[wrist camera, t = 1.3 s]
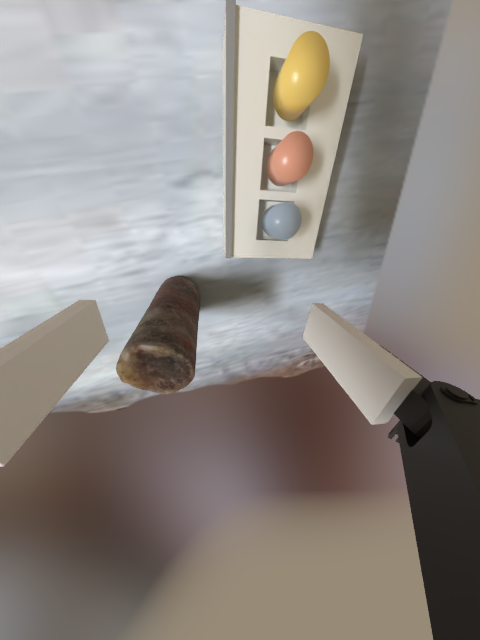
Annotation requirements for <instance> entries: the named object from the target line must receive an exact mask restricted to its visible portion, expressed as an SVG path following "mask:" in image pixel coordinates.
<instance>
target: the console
mask: <svg viewBox="0 0 480 640" xmlns="http://www.w3.org/2000/svg"><path fill="white" fill-rule="evenodd" d="M307 31H315V32H317V33H319V34H320V35H321V36H322V37H323V38H324V40H325V41H326V44H327V46H328V50H329V56H330V68H329V74H328V78H327V81H326V84H325V86H324V88H323V90H322V91H321V93H320V94H319V95H318V96H317V97H316V98H315V99H314V101H313V102H312V103H311V104H310V105H309V106H308V107H307V108H306V110H305V111H304V112H303V113H302V114H301V115H300V116H299V117H298V118H297V119H295V120H293V121H285V120H283V119H282V118H280V117H279V115H278V114H277V112H276V110H275V107H274V103H273V88H274V84H275V81H276V79H277V77H278V75H279V72H280V70H281V68H282V66H283V64H284V62H285V60H286V58H287V56H288V54H289V52H290V50H291V48H292V46H293V44H294V42H295V41H296V39H297V38H298V37H299V36H300V35H301V34H303V33H304V32H307ZM362 38H363V34H361V33H356V32H352V31H348V30H343V29H339V28H335V27H330V26H326V25H321V24H317V23H313V22H308V21H304V20H300V19H295V18H291V17H287V16H282V15H278V14H273V13H269V12H265V11H260V10H256V9H252V8H247V7H243V6H238V5H236V0H226V9H225V22H224V34H223V47H222V67H223V252H224V255H225V257H226V258H231V257H242V258H308V259H312V256H313V252H314V247H315V243H316V239H317V234H318V230H319V225H320V221H321V217H322V212H323V208H324V204H325V199H326V195H327V191H328V186H329V182H330V178H331V173H332V169H333V164H334V160H335V156H336V151H337V147H338V143H339V138H340V134H341V130H342V125H343V121H344V117H345V112H346V108H347V103H348V99H349V95H350V90H351V86H352V82H353V77H354V73H355V69H356V64H357V60H358V56H359V51H360V47H361V42H362ZM293 131H302V132H304V133H305V134H307V135H308V136H309V138H310V140H311V142H312V145H313V152H314V153H313V161H312V164H311V167H310V169H309V171H308V172H307V174H306V175H305V176H304V177H302V178H301V179H299V180H297V181H295V182H292V183H290V184H288V185H285V186H276V185H274V184H273V183H272V182H271V181H270V179H269V178H268V175H267V169H266V167H267V160H268V157H269V155H270V153H271V152H272V150H273V149H274V148H275V147H276V146H277V145H278V144H279V143H280V142H281V141H282V140H283V139H284V138H285V137H286V136H287V135H288V134H289V133H291V132H293ZM286 202H289V203H293V204H295V205H296V206H297V207H298V208H299V210H300V212H301V217H302V221H301V226H300V228H299V230H298V232H297V233H296V234H295V235H294V236H293V237H292V238H290V239H287V240H281V239H277V238H274V237H271V236H268V235H267V234H266V233H265V232H264V230H263V228H262V217H263V214H264V212H265V211H266V210H267V209H268V208H269V207H270V206H272V205H276V204H281V203H286Z"/></svg>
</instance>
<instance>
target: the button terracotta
mask: <svg viewBox="0 0 480 640" xmlns="http://www.w3.org/2000/svg"><path fill="white" fill-rule="evenodd" d="M313 153H314V152H313V145H312V142H311V140H310V138H309V136H308V135H307V134H305V133H304V132H302V131H293V132H291V133H289V134H288V135H287V136H286V137H285V138H284V139H283V140H282V141H281V142H280V143H279V144H278V145H277V146H276V147H275V148H274V149H273V150H272V152H271V153H270V155H269V157H268V160H267V167H266V169H267V175H268V178H269V179H270V181H271V182H272V183H273V184H274V185H276V186H285V185H288V184H290V183H292V182H295V181H297V180H299V179H301V178H302V177H304V176H305V175H306V174H307V172H308V171H309V169H310V167H311V164H312V161H313Z"/></svg>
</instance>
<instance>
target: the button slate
mask: <svg viewBox="0 0 480 640" xmlns="http://www.w3.org/2000/svg"><path fill="white" fill-rule="evenodd" d="M301 221H302V217H301V212H300V210H299V208H298V207H297V206H296V205H295V204H293V203H289V202H286V203H281V204H276V205H272V206H270V207H269V208H268V209H267V210H266V211H265V212H264V214H263V217H262V228H263V230H264V232H265V233H266V234H267V235H268V236H271V237H274V238H277V239H281V240H287V239H290V238H292V237H293V236H294V235H295V234H296V233H297V232H298V230H299V228H300V226H301Z"/></svg>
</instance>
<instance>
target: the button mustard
mask: <svg viewBox="0 0 480 640" xmlns="http://www.w3.org/2000/svg"><path fill="white" fill-rule="evenodd" d="M329 68H330V56H329V50H328V46H327V44H326V41H325V40H324V38H323V37H322V36H321V35H320V34H319V33H317V32H315V31H307V32H304V33H303V34H301V35H300V36H299V37H298V38H297V39H296V41H295V42H294V44H293V46H292V48H291V50H290V52H289V54H288V56H287V58H286V60H285V62H284V64H283V66H282V68H281V70H280V72H279V75H278V77H277V79H276V81H275V84H274V88H273V103H274V107H275V110H276V112H277V114H278V115H279V117H280V118H282V119H283V120H285V121H293V120H295V119H297V118H298V117H299V116H300V115H301V114H302V113H303V112H304V111H305V110H306V108H307V107H308V106H309V105H310V104H311V103H312V102H313V101H314V99H315V98H316V97H317V96H318V95H319V94H320V93H321V91H322V90H323V88H324V86H325V84H326V81H327V78H328V74H329Z"/></svg>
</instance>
